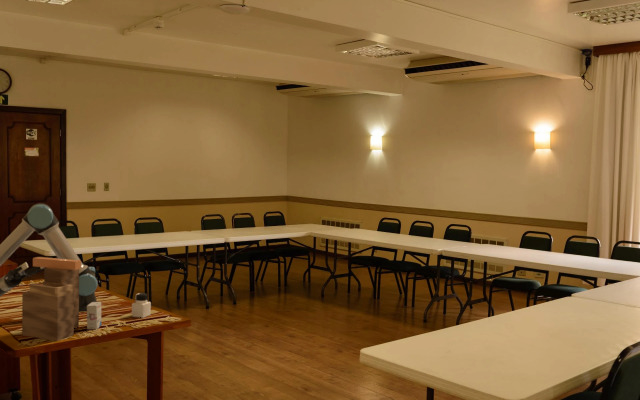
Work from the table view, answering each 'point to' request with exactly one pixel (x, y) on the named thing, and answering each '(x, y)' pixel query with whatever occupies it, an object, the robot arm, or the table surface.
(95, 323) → the ink box
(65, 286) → the brown stepped wooden block
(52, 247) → the robot arm
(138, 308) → the medicine bottle
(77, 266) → the block
